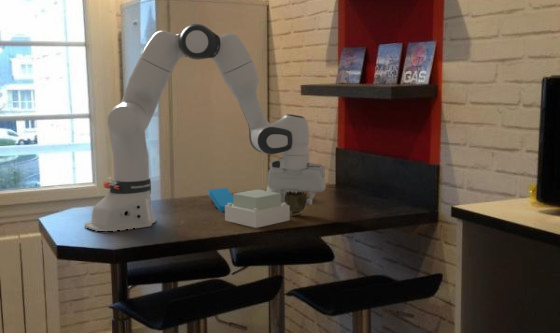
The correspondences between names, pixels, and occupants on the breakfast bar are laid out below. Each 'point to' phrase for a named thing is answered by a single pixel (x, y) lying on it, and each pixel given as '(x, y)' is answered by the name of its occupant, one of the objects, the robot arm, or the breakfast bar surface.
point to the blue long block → (220, 198)
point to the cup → (296, 202)
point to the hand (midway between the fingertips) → (296, 203)
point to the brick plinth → (257, 209)
